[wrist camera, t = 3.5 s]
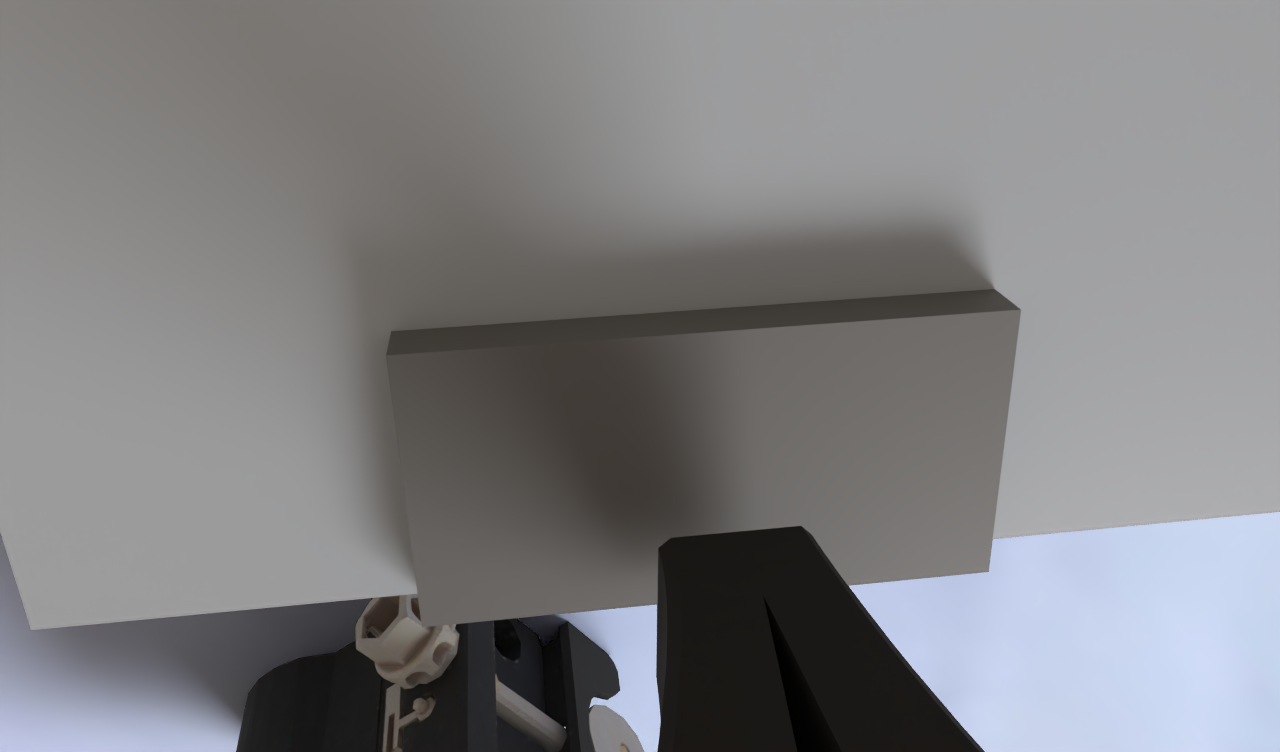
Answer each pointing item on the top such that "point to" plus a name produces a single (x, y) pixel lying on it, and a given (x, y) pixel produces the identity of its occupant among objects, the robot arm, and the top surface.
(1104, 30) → the level plate
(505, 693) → the scope
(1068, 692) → the top surface
